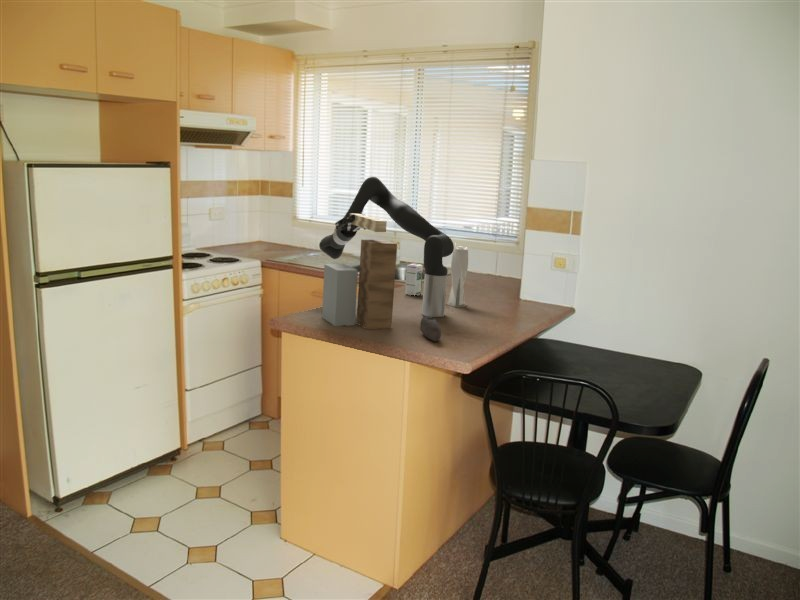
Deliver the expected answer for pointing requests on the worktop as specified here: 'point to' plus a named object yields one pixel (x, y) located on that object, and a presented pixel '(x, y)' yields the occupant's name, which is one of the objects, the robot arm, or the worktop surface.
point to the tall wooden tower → (376, 283)
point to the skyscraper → (458, 276)
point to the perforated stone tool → (430, 328)
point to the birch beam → (369, 223)
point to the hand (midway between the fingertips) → (359, 216)
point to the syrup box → (414, 279)
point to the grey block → (339, 294)
